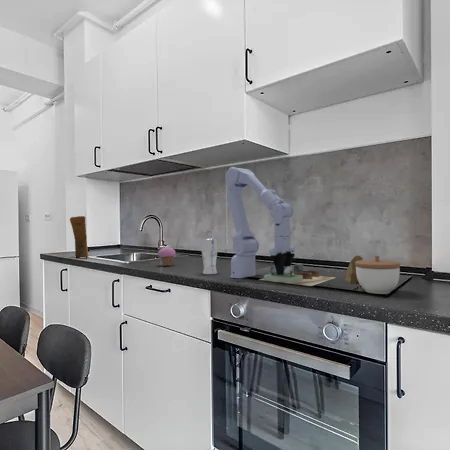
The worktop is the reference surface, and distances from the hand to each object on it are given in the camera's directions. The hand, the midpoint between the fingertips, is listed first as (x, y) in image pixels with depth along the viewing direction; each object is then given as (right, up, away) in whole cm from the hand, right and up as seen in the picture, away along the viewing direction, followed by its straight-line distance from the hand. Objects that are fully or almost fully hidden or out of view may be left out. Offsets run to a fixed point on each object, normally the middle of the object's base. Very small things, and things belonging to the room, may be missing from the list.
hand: (283, 273), depth 122 cm
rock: (+23, -3, -5) cm, 24 cm away
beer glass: (-28, -4, +25) cm, 38 cm away
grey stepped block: (+8, -2, +6) cm, 10 cm away
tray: (0, -3, 0) cm, 3 cm away
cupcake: (-51, -4, +53) cm, 74 cm away
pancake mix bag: (-119, -5, +105) cm, 158 cm away
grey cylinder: (0, -1, 0) cm, 1 cm away
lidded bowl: (+26, -3, -18) cm, 32 cm away
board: (+6, -3, +2) cm, 7 cm away
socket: (+10, -3, +4) cm, 12 cm away
